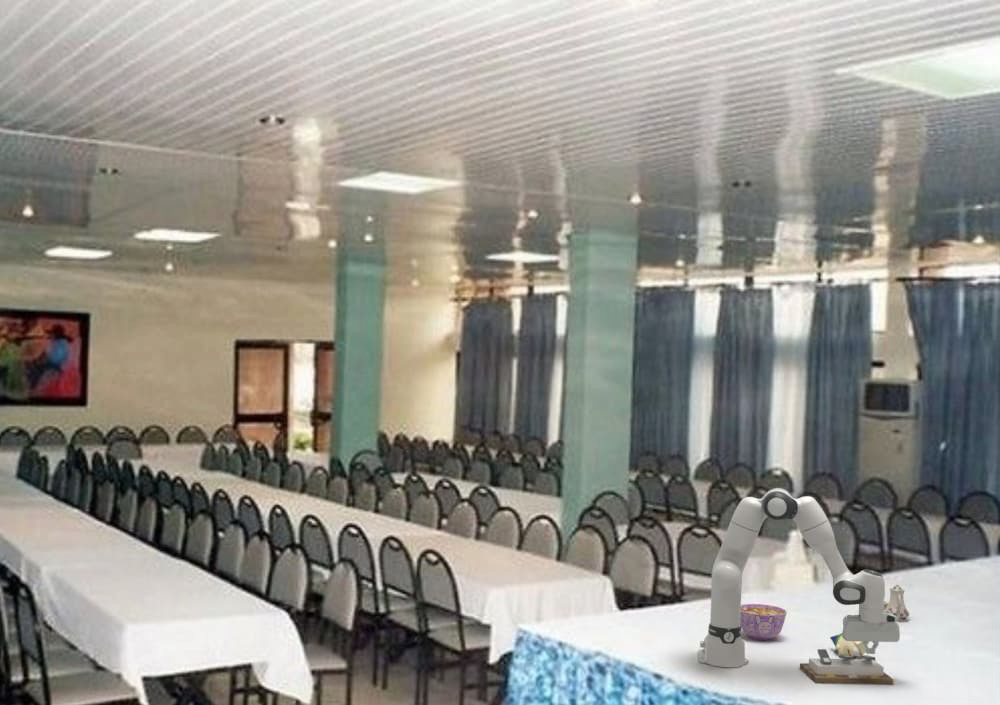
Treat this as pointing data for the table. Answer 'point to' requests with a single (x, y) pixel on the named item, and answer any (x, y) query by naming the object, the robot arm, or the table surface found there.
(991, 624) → the table surface
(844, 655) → the rocker
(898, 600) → the chinaware
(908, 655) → the table surface
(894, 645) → the table surface
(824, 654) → the block
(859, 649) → the cartoon head
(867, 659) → the block
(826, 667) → the switch housing
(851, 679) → the chart board
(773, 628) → the bowl of food
